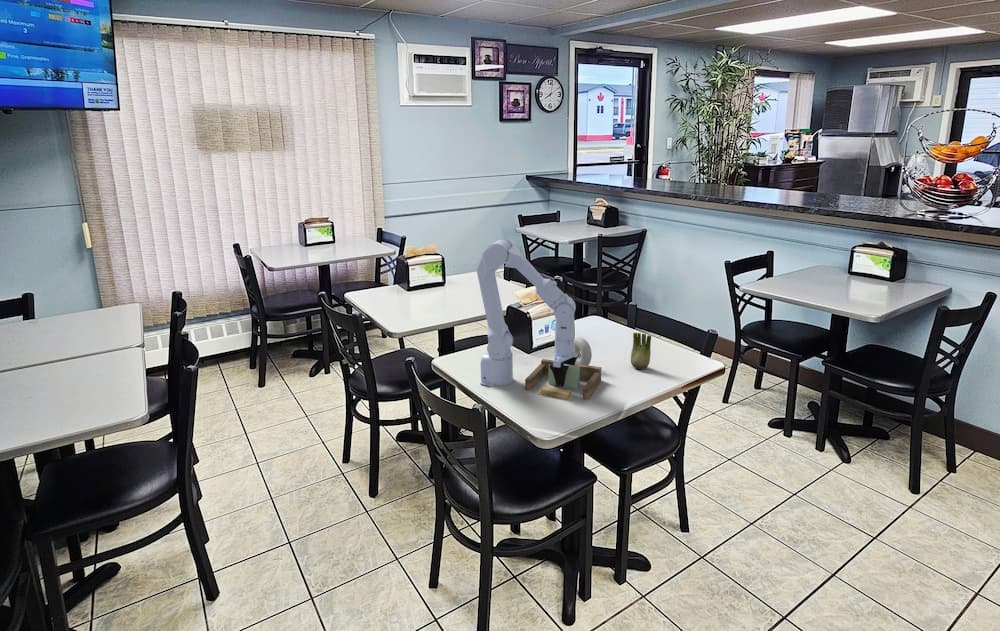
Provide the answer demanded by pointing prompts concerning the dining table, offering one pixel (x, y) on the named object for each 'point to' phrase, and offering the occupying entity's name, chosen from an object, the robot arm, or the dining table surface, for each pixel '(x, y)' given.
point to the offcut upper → (556, 392)
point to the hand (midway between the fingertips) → (564, 381)
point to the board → (568, 377)
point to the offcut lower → (555, 397)
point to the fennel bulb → (641, 351)
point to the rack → (585, 374)
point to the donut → (582, 351)
